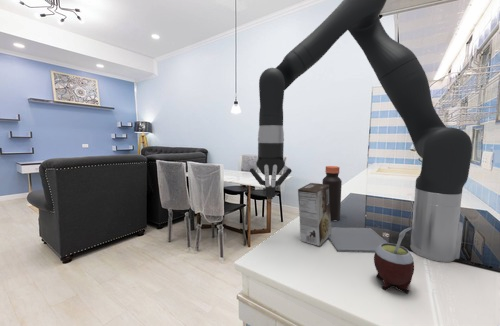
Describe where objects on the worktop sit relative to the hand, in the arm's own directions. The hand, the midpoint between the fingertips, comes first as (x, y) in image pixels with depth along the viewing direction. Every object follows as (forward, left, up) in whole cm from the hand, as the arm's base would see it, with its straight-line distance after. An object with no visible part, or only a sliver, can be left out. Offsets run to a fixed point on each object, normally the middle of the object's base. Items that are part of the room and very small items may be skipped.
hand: (269, 198), depth 67 cm
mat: (-26, 0, -13) cm, 29 cm away
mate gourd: (-25, +21, -13) cm, 35 cm away
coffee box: (-14, 0, -12) cm, 19 cm away
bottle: (-24, -18, -13) cm, 33 cm away
